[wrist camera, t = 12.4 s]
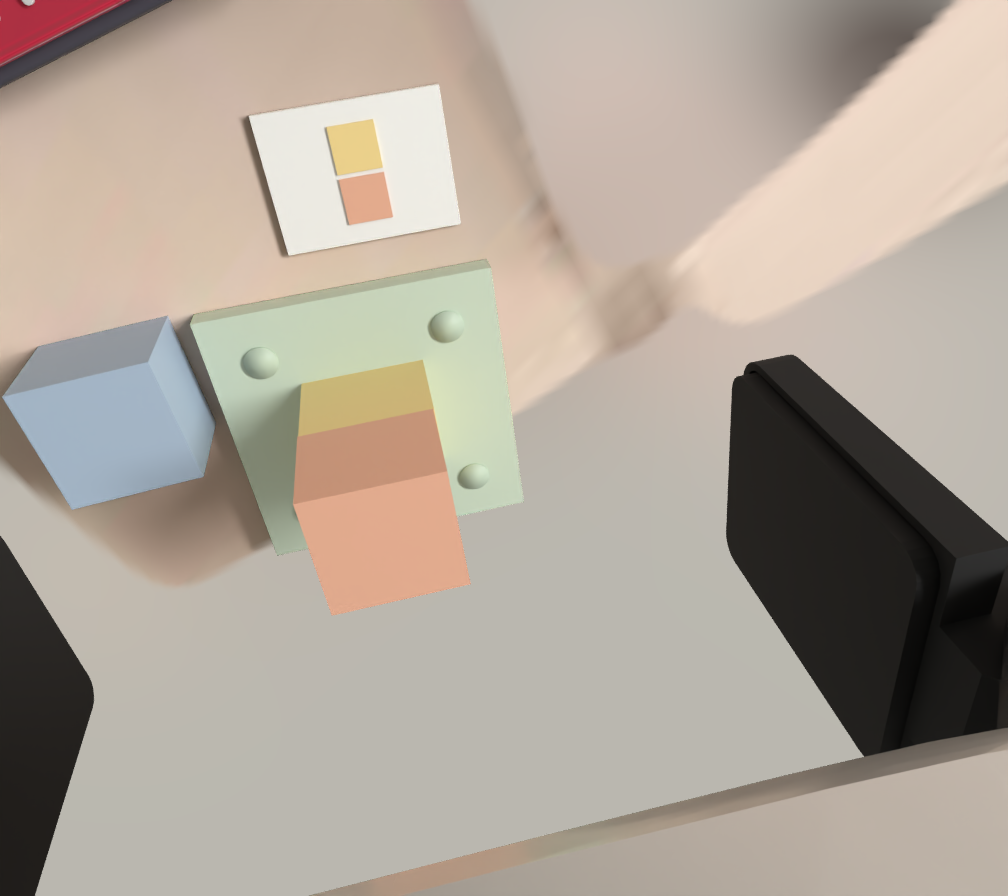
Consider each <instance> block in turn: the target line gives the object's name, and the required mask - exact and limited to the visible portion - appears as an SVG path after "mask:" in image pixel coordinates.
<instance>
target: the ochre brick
mask: <svg viewBox="0 0 1008 896" xmlns="http://www.w3.org/2000/svg"><path fill="white" fill-rule="evenodd" d="M429 409H433V411H434V406H433V402H432V398H431V393H430V389H429V385H428V380H427V376H426V372H425V367H424V363H423V360H418V361H413V362H408V363H403V364H398V365H393V366H388V367H383V368H378V369H373V370H368V371H363V372H358V373H353V374H348V375H343V376H338V377H333V378H328V379H323V380H318V381H313V382H308V383H303V384H301V398H300V415H299V432H298V437H299V436H304V435H308V434H313V433H318V432H323V431H328V430H333V429H337V428H342V427H347V426H352V425H357V424H361V423H366V422H371V421H376V420H381V419H386V418H390V417H395V416H400V415H405V414H410V413H415V412H419V411H424V410H429ZM434 415H435V411H434ZM435 419H436V416H435ZM436 424H437V421H436ZM437 428H438V426H437ZM438 433H439V431H438ZM439 437H440V436H439ZM441 446H442V445H441Z"/></svg>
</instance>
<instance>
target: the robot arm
mask: <svg viewBox="0 0 1008 896" xmlns="http://www.w3.org/2000/svg"><path fill="white" fill-rule="evenodd" d="M727 502H728V503H727V526H726V537H727V543H728V547H729V551H730V553H731V556H732V557H733V559H734V561H735V563H736V564H737V566H738V567H739V569H740V570H741V572H742V573H743V575H744V576H745V578H746V579H747V581H748V582H749V584H750V586H751V587H752V589H753V590H754V591H755V593H756V594H757V596H758V597H759V599H760V601H761V602H762V604H763V605H764V607H765V608H766V610H767V611H768V613H769V614H770V616H771V617H772V619H773V620H774V622H775V623H776V625H777V626H778V628H779V629H780V631H781V632H782V634H783V635H784V637H785V638H786V640H787V641H788V643H789V645H790V646H791V648H792V649H793V651H794V652H795V654H796V655H797V657H798V658H799V660H800V661H801V663H802V664H803V666H804V667H805V669H806V670H807V672H808V673H809V675H810V676H811V678H812V679H813V681H814V682H815V684H816V685H817V687H818V688H819V690H820V691H821V693H822V694H823V696H824V698H825V699H826V700H827V702H828V704H829V705H830V707H831V708H832V710H833V711H834V713H835V714H836V716H837V717H838V719H839V720H840V722H841V723H842V725H843V726H844V728H845V729H846V731H847V732H848V734H849V735H850V737H851V738H852V740H853V741H854V743H855V744H856V746H857V747H858V749H859V750H860V752H861V753H862V754H863V755H864V757H862V758H858V759H854V760H849V761H845V762H840V763H837V764H832V765H828V766H823V767H820V768H815V769H810V770H806V771H802V772H797V773H793V774H789V775H784V776H781V777H776V778H772V779H769V780H765V781H760V782H756V783H752V784H748V785H744V786H740V787H737V788H733V789H728V790H725V791H721V792H717V793H712V794H708V795H704V796H700V797H696V798H693V799H688V800H684V801H680V802H677V803H672V804H668V805H665V806H660V807H656V808H652V809H648V810H644V811H640V812H636V813H632V814H628V815H624V816H620V817H617V818H612V819H608V820H605V821H600V822H596V823H592V824H588V825H585V826H580V827H577V828H572V829H568V830H564V831H561V832H556V833H552V834H548V835H544V836H540V837H537V838H533V839H529V840H525V841H521V842H517V843H513V844H509V845H506V846H501V847H498V848H494V849H489V850H486V851H482V852H478V853H474V854H470V855H466V856H462V857H458V858H454V859H451V860H446V861H443V862H439V863H435V864H431V865H427V866H423V867H419V868H415V869H411V870H408V871H403V872H399V873H396V874H391V875H387V876H384V877H380V878H376V879H372V880H368V881H364V882H360V883H357V884H352V885H349V886H345V887H341V888H337V889H333V890H329V891H325V892H321V893H318V894H313V895H310V896H1008V541H1007V540H1005V539H1004V538H1003V537H1002V536H1001V535H1000V534H999V533H998V532H996V531H995V530H994V529H993V528H992V527H991V526H990V525H988V524H987V523H986V522H985V521H984V520H983V519H982V518H980V517H979V516H978V515H977V514H976V513H974V511H972V510H971V509H970V508H969V507H968V506H967V505H966V504H964V503H963V502H962V501H961V500H960V499H959V498H958V497H956V496H955V495H954V494H953V493H952V492H951V491H949V490H948V489H947V488H946V487H945V486H944V485H943V484H942V483H940V482H939V481H938V480H937V479H936V478H935V477H934V476H932V475H931V474H930V473H929V472H928V471H927V470H926V469H925V468H923V467H922V466H921V465H920V464H919V463H918V462H917V461H915V460H914V459H913V458H912V457H911V456H910V455H909V454H907V453H906V452H905V451H904V450H903V449H902V448H901V447H899V446H898V445H897V444H896V443H895V442H894V441H893V440H891V439H890V438H889V437H888V436H887V435H886V434H885V433H883V432H882V431H881V430H880V429H879V428H878V427H877V426H875V425H874V424H873V423H872V422H871V421H870V420H868V419H867V418H866V417H865V416H864V415H863V414H862V413H861V412H859V411H858V410H857V409H856V408H855V407H854V406H853V405H851V404H850V403H849V402H848V401H847V400H846V399H845V398H843V397H842V396H841V395H840V394H839V393H838V392H836V391H835V390H834V389H833V388H832V387H831V386H830V385H829V384H827V383H826V382H825V381H824V380H823V379H822V378H821V377H820V376H818V375H817V374H816V373H815V372H814V371H813V370H812V369H810V368H809V367H808V366H807V365H806V364H805V363H804V362H802V361H801V360H800V359H799V358H798V357H796V356H794V355H785V356H780V357H776V358H771V359H766V360H761V361H756V362H751V363H749V364H748V365H747V366H746V368H745V371H744V375H742V376H738V377H736V378H735V379H734V382H733V386H732V404H731V427H730V452H729V478H728V501H727ZM93 703H94V693H93V686H92V682H91V680H90V678H89V676H88V674H87V673H86V671H85V670H84V668H83V666H82V665H81V663H80V662H79V660H78V658H77V657H76V655H75V654H74V652H73V650H72V649H71V647H70V646H69V644H68V642H67V641H66V639H65V637H64V636H63V634H62V633H61V631H60V629H59V628H58V626H57V625H56V623H55V621H54V620H53V618H52V617H51V615H50V613H49V612H48V610H47V609H46V607H45V605H44V604H43V602H42V601H41V599H40V597H39V596H38V594H37V593H36V591H35V589H34V588H33V586H32V584H31V583H30V581H29V580H28V578H27V577H26V575H25V574H24V572H23V570H22V568H21V567H20V565H19V564H18V562H17V560H16V559H15V557H14V556H13V554H12V552H11V551H10V549H9V548H8V546H7V544H6V543H5V541H4V540H3V539H2V538H1V536H0V896H35V893H36V890H37V887H38V883H39V880H40V877H41V874H42V870H43V867H44V863H45V860H46V857H47V854H48V851H49V848H50V844H51V841H52V838H53V835H54V831H55V828H56V825H57V822H58V818H59V815H60V812H61V809H62V805H63V802H64V799H65V796H66V792H67V789H68V786H69V783H70V780H71V776H72V773H73V769H74V767H75V763H76V760H77V757H78V754H79V750H80V747H81V744H82V741H83V737H84V734H85V731H86V728H87V724H88V721H89V718H90V715H91V711H92V708H93Z"/></svg>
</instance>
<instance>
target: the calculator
mask: <svg viewBox="0 0 1008 896" xmlns="http://www.w3.org/2000/svg"><path fill="white" fill-rule="evenodd" d="M170 1H172V0H0V88H2V87H4V86H6V85H7V84H9V83H11V82H13V81H15V80H17V79H19V78H21V77H23V76H25V75H27V74H29V73H31V72H33V71H35V70H37V69H39V68H41V67H43V66H45V65H47V64H49V63H51V62H53V61H55V60H56V59H58V58H60V57H62V56H64V55H66V54H68V53H70V52H72V51H74V50H76V49H78V48H80V47H82V46H84V45H86V44H88V43H90V42H92V41H94V40H96V39H98V38H100V37H102V36H104V35H105V34H107V33H109V32H111V31H113V30H115V29H117V28H119V27H121V26H123V25H125V24H127V23H129V22H131V21H133V20H135V19H137V18H139V17H141V16H143V15H145V14H147V13H149V12H151V11H152V10H154V9H156V8H158V7H160V6H162V5H164V4H166V3H168V2H170Z"/></svg>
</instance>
